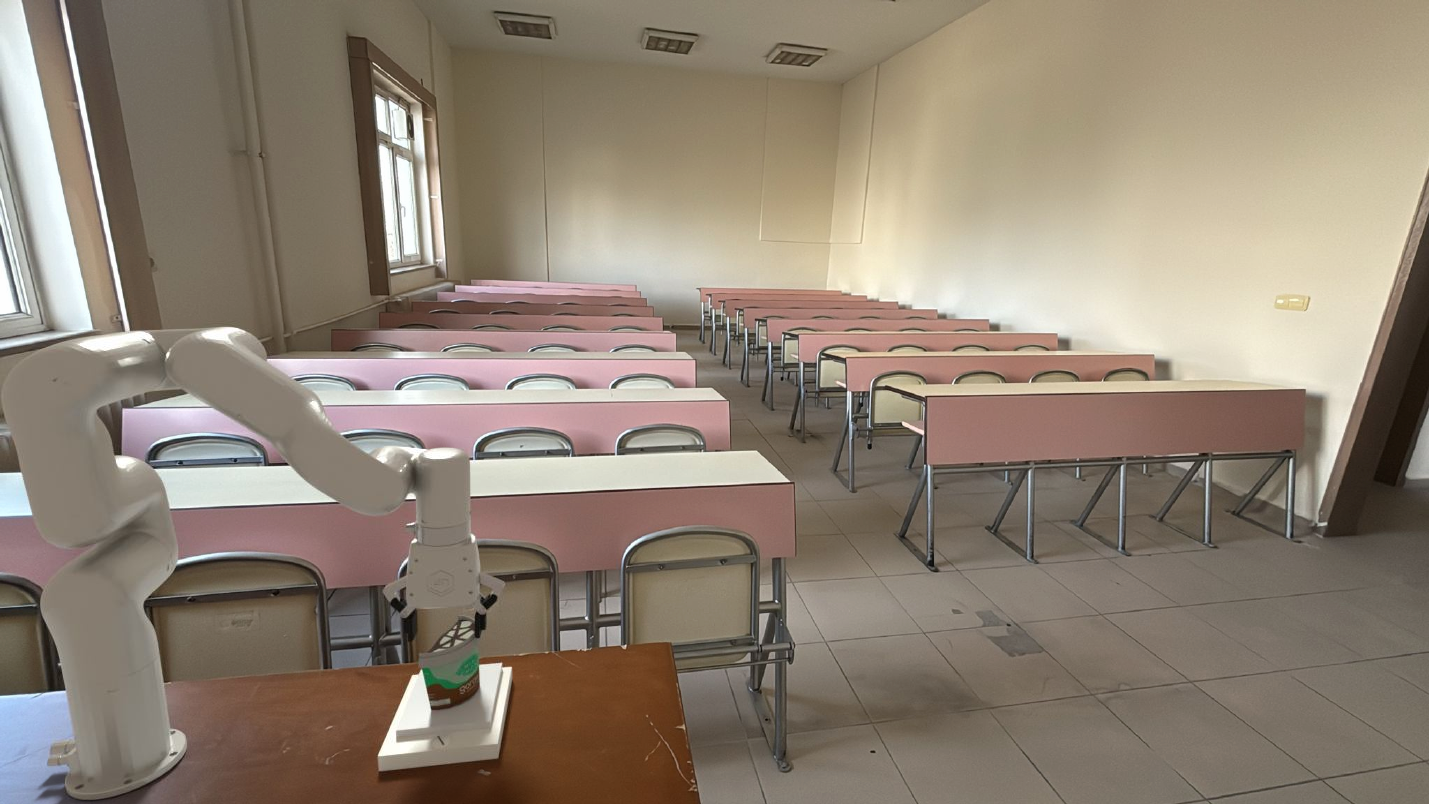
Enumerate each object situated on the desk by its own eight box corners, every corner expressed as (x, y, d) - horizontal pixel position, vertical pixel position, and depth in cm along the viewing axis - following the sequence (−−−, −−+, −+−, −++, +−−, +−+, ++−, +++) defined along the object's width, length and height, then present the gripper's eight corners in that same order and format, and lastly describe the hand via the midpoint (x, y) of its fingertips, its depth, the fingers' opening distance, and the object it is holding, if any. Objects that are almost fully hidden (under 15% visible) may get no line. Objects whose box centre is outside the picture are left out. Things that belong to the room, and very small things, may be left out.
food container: (464, 718, 96) (456, 656, 94) (425, 716, 97) (416, 655, 95) (501, 669, 108) (494, 614, 106) (466, 668, 109) (459, 613, 107)
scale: (378, 771, 91) (377, 748, 90) (413, 688, 109) (412, 668, 108) (498, 758, 94) (497, 736, 93) (512, 679, 112) (511, 660, 112)
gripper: (373, 542, 92) (378, 652, 95) (501, 539, 95) (501, 645, 98) (389, 522, 99) (392, 625, 102) (507, 520, 102) (507, 620, 106)
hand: (446, 635), depth 100 cm, fingers open, 9 cm apart
